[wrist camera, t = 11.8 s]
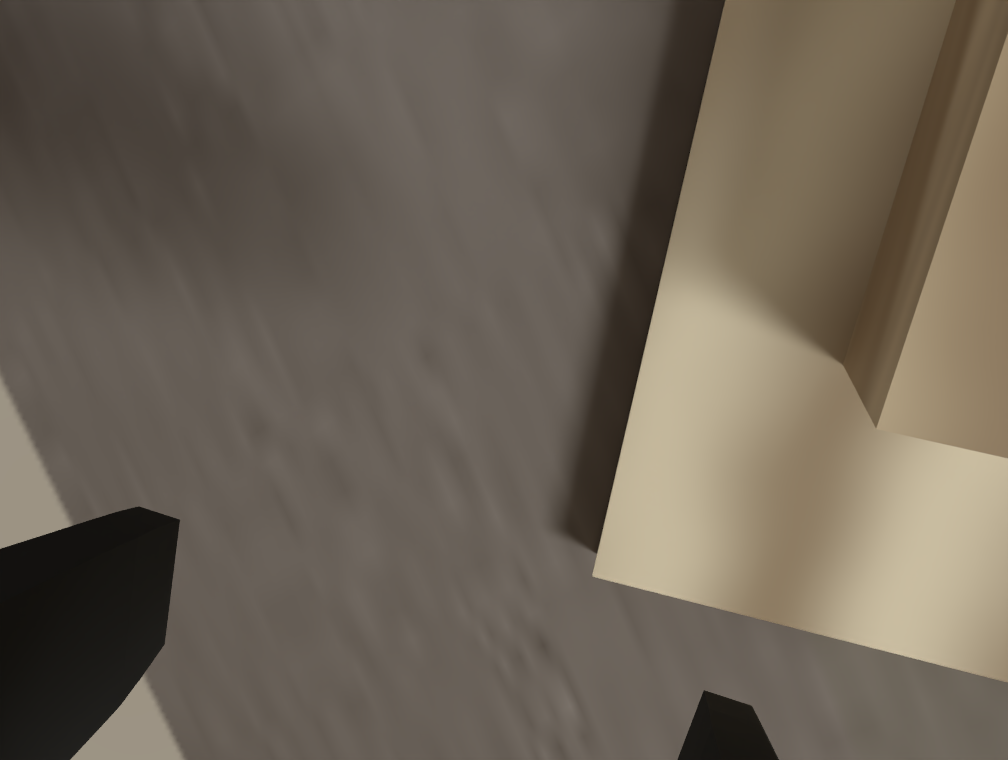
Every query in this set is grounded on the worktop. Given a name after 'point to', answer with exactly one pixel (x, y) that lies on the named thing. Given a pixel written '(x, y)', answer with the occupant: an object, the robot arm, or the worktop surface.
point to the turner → (946, 256)
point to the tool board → (801, 360)
